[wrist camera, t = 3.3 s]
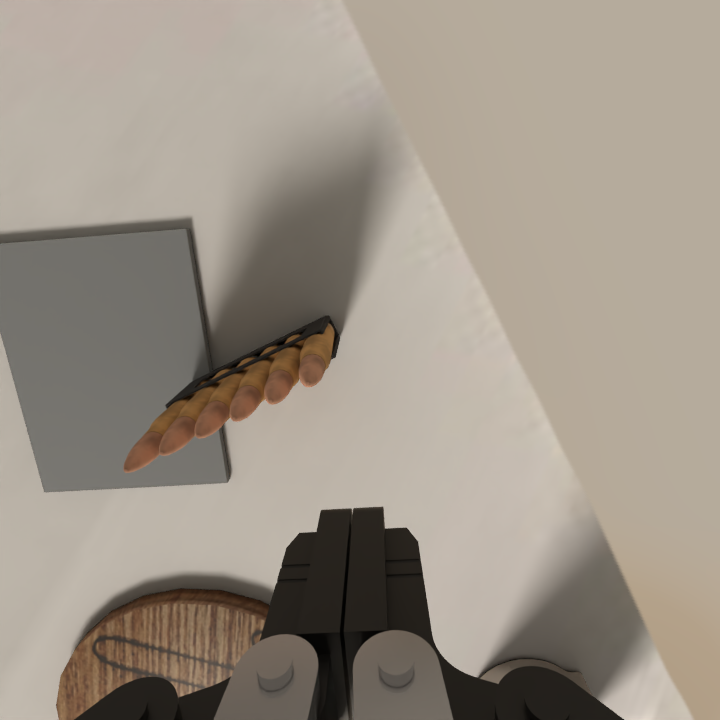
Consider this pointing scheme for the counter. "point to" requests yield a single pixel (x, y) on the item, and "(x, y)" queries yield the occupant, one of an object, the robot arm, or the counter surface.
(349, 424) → the counter surface
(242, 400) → the ammunition clip
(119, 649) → the trivet
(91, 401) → the slate mat
